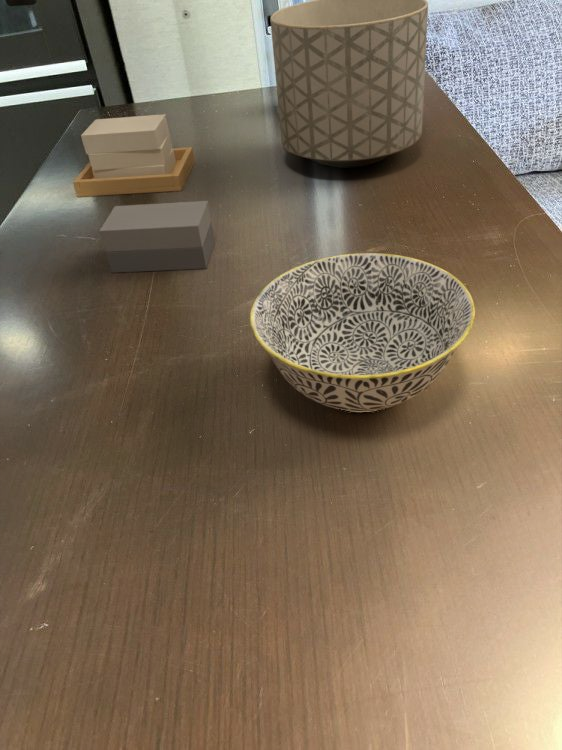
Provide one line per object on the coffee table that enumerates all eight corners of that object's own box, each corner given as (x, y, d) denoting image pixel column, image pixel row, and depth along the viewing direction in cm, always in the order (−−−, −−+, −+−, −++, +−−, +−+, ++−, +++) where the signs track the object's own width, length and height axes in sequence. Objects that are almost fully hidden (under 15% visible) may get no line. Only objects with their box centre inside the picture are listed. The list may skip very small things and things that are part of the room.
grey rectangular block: (111, 273, 67) (98, 230, 64) (126, 246, 72) (114, 205, 69) (206, 268, 66) (198, 225, 63) (215, 242, 71) (207, 200, 68)
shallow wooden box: (76, 197, 85) (72, 182, 84) (99, 167, 93) (95, 153, 92) (181, 190, 83) (178, 175, 82) (195, 161, 91) (192, 146, 90)
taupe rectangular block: (94, 186, 86) (85, 154, 83) (109, 167, 91) (100, 136, 88) (167, 182, 84) (160, 149, 82) (177, 162, 90) (171, 131, 87)
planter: (405, 188, 77) (411, 23, 66) (263, 180, 83) (246, 28, 72) (431, 135, 91) (440, -10, 79) (307, 131, 97) (299, -3, 85)
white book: (86, 154, 83) (80, 135, 81) (100, 137, 88) (95, 119, 86) (159, 149, 82) (154, 130, 80) (169, 132, 87) (165, 114, 85)
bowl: (223, 380, 51) (208, 303, 47) (366, 305, 58) (366, 231, 53) (352, 495, 41) (349, 411, 36) (509, 388, 47) (525, 305, 43)
